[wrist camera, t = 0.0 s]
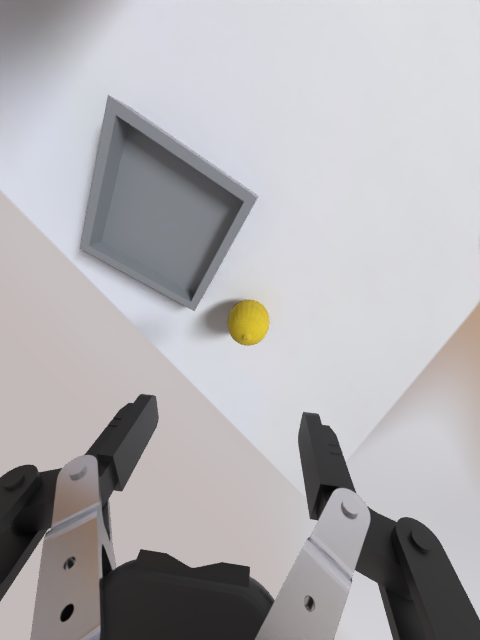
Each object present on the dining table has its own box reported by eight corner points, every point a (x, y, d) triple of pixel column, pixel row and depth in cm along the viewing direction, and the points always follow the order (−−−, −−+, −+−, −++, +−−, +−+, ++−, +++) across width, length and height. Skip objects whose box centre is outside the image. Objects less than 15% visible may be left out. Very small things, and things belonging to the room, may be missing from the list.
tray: (128, 106, 23) (108, 94, 20) (258, 196, 26) (257, 197, 23) (97, 242, 31) (79, 248, 28) (200, 299, 34) (194, 311, 31)
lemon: (226, 314, 35) (217, 346, 28) (241, 284, 32) (234, 311, 25) (258, 328, 36) (256, 362, 29) (275, 300, 33) (278, 331, 26)
